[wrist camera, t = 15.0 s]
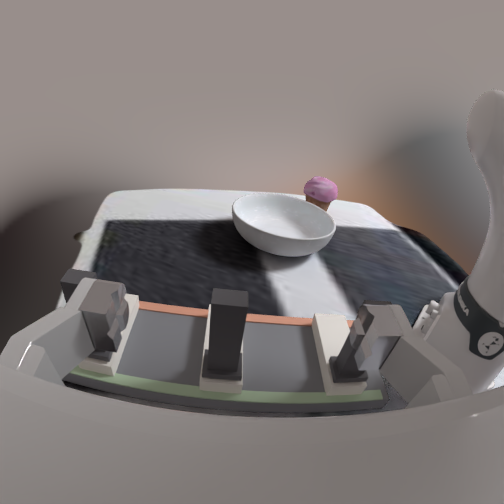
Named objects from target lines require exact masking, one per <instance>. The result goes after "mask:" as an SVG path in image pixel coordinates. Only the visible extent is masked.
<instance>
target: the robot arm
mask: <svg viewBox="0 0 504 504" xmlns="http://www.w3.org/2000/svg"><path fill="white" fill-rule="evenodd" d="M467 140H468V145H469V148H470V152H471V154H472V157H473V159H474V161H475V163H476V164H477V166H478V168H479V169H480V171H481V173H482V175H483V178H484V180H485V183H486V186H487V190H488V194H489V200H490V224H489V229H488V233H487V236H486V239H485V242H484V245H483V248H482V250H481V253H480V255H479V258H478V260H477V262H476V264H475V267H474V269H473V271H472V273H470V274H471V275H470V276H468V277H467V278H466V279H465V280H464V282H462V283H461V285H460V286H459V288H458V290H457V291H456V292H450V293H446V294H444V295H443V297H442V298H441V300H440V302H439V304H438V303H437V302H435V301H432V300H431V302H430V304H429V305H425V306H424V308H423V309H422V311H421V313H420V314H419V316H418V318H417V320H416V322H415V324H414V326H413V327H411V325H410V323H409V321H408V319H407V317H406V315H405V313H404V311H403V309H402V307H401V306H399V305H370V304H362V305H361V306H360V308H359V310H358V312H357V313H358V316H359V318H357V319H356V320H355V321H353V323H352V326H351V328H350V343H351V346H352V347H353V348H354V349H355V350H356V351H357V352H356V354H355V356H354V357H355V360H356V363H357V367H358V370H379V372H380V373H381V374H382V375H383V376H384V377H385V379H386V380H387V381H388V382H389V383H390V384H391V385H392V386H393V388H394V389H395V390H396V391H397V392H398V393H399V394H400V395H401V397H402V398H403V399H404V400H405V401H406V402H407V403H408V405H407V406H406V407H405V408H404V409H399V410H392V411H385V412H376V413H367V414H357V415H345V416H329V417H302V418H270V417H243V416H227V415H215V414H204V413H195V412H187V411H179V410H172V409H165V408H158V407H152V406H147V405H141V404H136V403H130V402H126V401H121V400H116V399H112V398H107V397H103V396H99V395H95V394H91V393H87V392H83V391H79V390H76V389H72V388H69V387H66V386H65V385H64V383H63V381H62V379H63V378H64V377H65V376H66V375H67V374H68V373H69V372H70V371H72V370H73V369H74V368H75V367H76V366H77V365H78V364H80V363H81V362H82V361H83V360H84V359H85V358H86V357H87V356H89V355H90V354H91V353H92V352H93V351H94V350H95V349H98V350H104V351H110V352H116V353H117V350H118V348H119V345H120V342H121V340H122V336H121V331H123V330H124V329H126V326H127V323H128V318H129V305H128V302H127V301H126V300H125V299H124V297H125V294H126V289H125V285H124V284H123V283H118V282H112V281H105V280H99V279H92V278H86V277H85V278H83V279H82V280H81V281H80V283H79V284H78V286H77V288H76V289H75V291H74V292H73V294H72V296H71V297H70V299H69V301H68V302H67V304H66V306H65V307H60V308H58V309H56V310H55V311H53V312H51V313H50V314H48V315H46V316H44V317H43V318H41V319H39V320H38V321H36V322H34V323H33V324H31V325H29V326H28V327H26V328H24V329H23V330H21V331H20V332H18V333H16V334H15V335H13V336H11V338H10V340H9V341H8V343H7V345H6V347H5V348H4V350H3V352H2V353H1V355H0V504H504V386H501V387H498V388H495V389H492V388H493V387H494V385H495V382H494V379H495V378H496V377H497V375H498V374H499V372H500V371H501V370H502V368H503V367H504V91H500V90H495V89H491V90H489V91H487V92H485V93H484V94H482V95H481V96H480V97H479V98H478V99H477V100H476V102H475V103H474V104H473V106H472V108H471V111H470V113H469V116H468V121H467Z"/></svg>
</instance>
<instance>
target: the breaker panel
mask: <svg viewBox="0 0 504 504" xmlns="http://www.w3.org/2000/svg"><path fill="white" fill-rule="evenodd" d="M124 299H125V300H126V301H127V302H128V305H129V318H128V323H127V326H126V329H124V330H123V331H121V336H122V340H121V342H120V345H119V348H118V350H117V353H116V352H113V354H112V357H111V359H110V362H107V361H103V360H98V359H94V358H89V357H86V358H85V359H84V360H83V361H82V362H81V363H80V364H78V365H77V366H76V367H75V368H74V369H73V370H72V371H70V372H69V373H68V374H67V375H66V376H65V377H64V378H63V379H62V380H64V381H68V382H71V383H75V384H78V385H82V386H86V387H90V388H94V389H98V390H102V391H106V392H110V393H115V394H119V395H124V396H129V397H134V398H139V399H145V400H150V401H156V402H162V403H169V404H176V405H183V406H191V407H199V408H209V409H219V410H232V411H248V412H274V413H312V412H338V411H353V410H365V409H376V408H383V407H384V405H385V404H386V403H387V402H388V401H389V396H388V393H387V390H386V387H385V384H384V381H383V378H382V375H381V373H380V372H379V370H366V371H367V374H368V377H369V378H368V379H367V381H366V382H345V383H333V378H332V374H331V369H330V365H329V359H330V357H331V356H338V355H339V353H340V351H341V349H342V347H343V345H344V343H345V341H346V339H347V337H348V335H349V333H350V328H351V326H352V323H353V321H354V320H346V318H345V315H333V314H316V313H315V314H314V317H313V319H312V318H296V317H282V316H269V315H257V314H247V317H246V323H245V328H244V334H243V340H242V346H241V352H240V353H242V379H241V381H236V380H224V379H213V378H204V377H202V368H203V360H204V352H205V349H208V347H209V330H210V313H211V305H209V310H205V309H197V308H188V307H180V306H172V305H164V304H157V303H149V302H142V301H139V298H138V295H131V294H125V297H124Z"/></svg>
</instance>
